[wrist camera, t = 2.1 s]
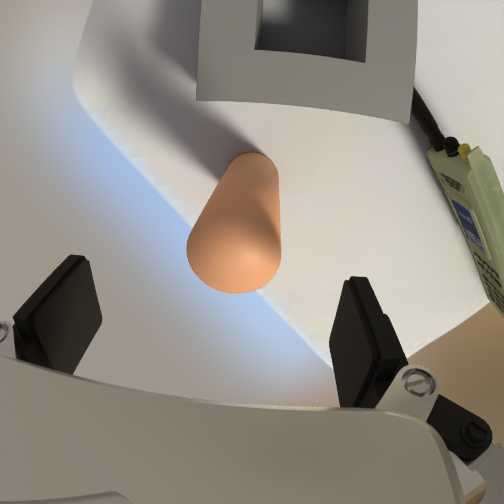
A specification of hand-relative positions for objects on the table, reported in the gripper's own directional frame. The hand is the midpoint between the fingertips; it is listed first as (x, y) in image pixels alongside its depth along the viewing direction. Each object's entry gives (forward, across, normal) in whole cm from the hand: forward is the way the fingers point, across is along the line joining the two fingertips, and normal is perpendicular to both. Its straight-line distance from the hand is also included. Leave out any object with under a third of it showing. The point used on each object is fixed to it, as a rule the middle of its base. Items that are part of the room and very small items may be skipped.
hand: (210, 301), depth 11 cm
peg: (+15, -1, 0) cm, 15 cm away
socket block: (+15, -4, -12) cm, 20 cm away
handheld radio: (+15, -20, 0) cm, 25 cm away
